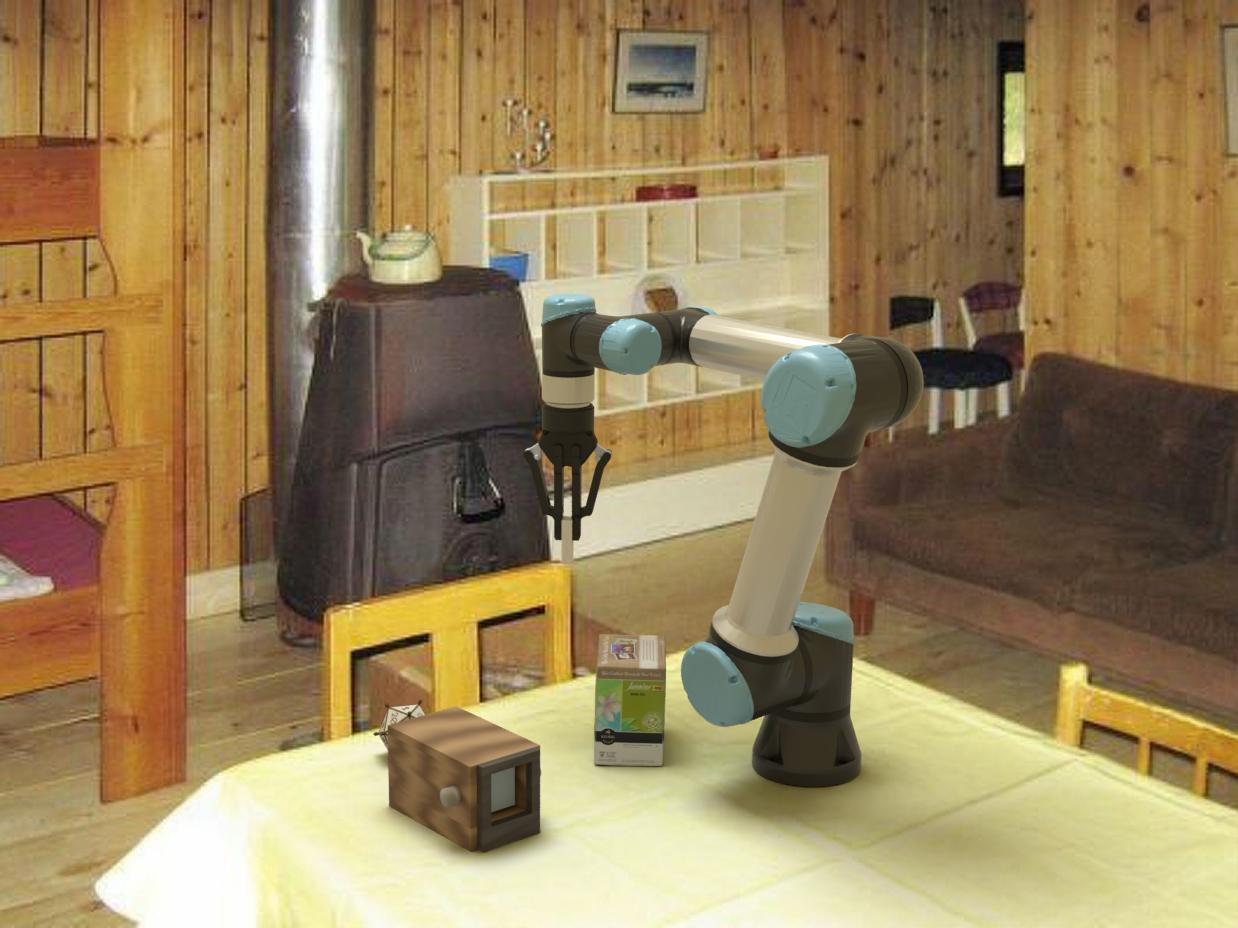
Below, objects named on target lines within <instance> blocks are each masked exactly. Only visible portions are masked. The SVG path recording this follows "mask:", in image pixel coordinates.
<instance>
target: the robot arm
mask: <svg viewBox="0 0 1238 928" xmlns="http://www.w3.org/2000/svg"><path fill="white" fill-rule="evenodd" d="M541 314H542V315H541V316H542V318H541V323H540V327H541V360H542V361H541V366H542V367H541V368H542V370H541V399H542V400H543V402H545V403H543V405H542V406H541V434H540V437H539V438H538V442H537V443H535V444H534V445H532V446H531V447H530V446H528V447H526V449H524V452H523V458H524V459H525V461H526V462H527V463H528V465H529V466H530V470H531V474H532V478H533V483H534V486H535V490H536V495H537V499H538V503H539V507H540V510H541V511H540V512H541V514H542V515H543V516H548V517H551V518H552V519H553V538H554V540H555V541H561V564H562V565H572V564H573V561H574V542H575V541H576V542H577V541H578V542H579V541H580V539H581V536H582V519H583V518H585V517H590V516H592V514H593V512H594V509H595V505H596V500H597V497H598V494H599V489H600V485H601V483H602V482H601V481H602V478H603V474H604V470H605V467H607V465H608V464H609V462H610V460H611V459H612V455H613V450H611V449H609V448H607V449H606V448H604V447H603V446H601V445H600V444H599V443H598V441H599V440H598V438H597V436H596V435H595V406H594V405H593V403H592V402H594V400H595V389H596V388H595V385H596V384H595V374H596V371H595V370H596V369H600V370H604V371H609V372H613V373H616V374H617V373H618V374H619V375H623V376H626V375H632V376H642V375H645V374H648V372H649V371H651V369H653V368H655V367H658V366H664V365H670V364H671V365H672V364H686V365H691V366H695V367H700V368H706V369H710V370H714V371H715V370H716V371H720V372H724V373H729V374H733V375H739V376H742V377H747V378H751V379H754V380H755V379H756V380H760V381H763V384H762V387H761V394H760V409H762V410H764V415H762V418H763V420H764V424H765V426H766V428H767V429H768V431H767V432H768V433H767V439H768V441H769V443H770V445H771V446H772V448H773V450H774V455H773V458H772V462H771V465H770V469H769V472H768V474H767V477H766V478H767V479H766V481H765V485H764V488H763V491H762V494H761V498H760V501H759V504H758V508H757V511H756V515H755V517H754V522H753V524H752V527H751V531H750V534H749V538H748V540H747V544H746V548H745V551H744V554H743V558H742V560H741V565H740V566H739V567H740V568H739V570H738V574H737V578H736V581H735V584H734V587H733V591H732V594H731V596H730V597H731V598H730V601H729V604H727V605H724V606H722V607H719V608H718V609H717V610H716V611H715V613H714V615H713V616H712V621H711V623H710V626H709V629H708V633H707V636H706V638H705V640H704V641H697V642H695V643H693V645H692V646H690V647H688V648H687V650H686V651H685V652H684V654H683V657H682V659H681V665H680V678H681V682H682V683H681V684H682V686H683V690H684V692H685V693H686V696H687V699H688V701H689V703H690V705H691V706H692V708H693V709H694V710H695V712H696V713H697V714H698V715H699V716H701V717H702V718H703V719H704V720H705V721H707V723H709V724H711V725H714V726H716V727H721V728H729V727H733V726H738V725H745V724H748V723H749V722H751V721H754V720H757V719H759V718H760V719H761V718H762V717H763V719H762V721H761V724H760V727H759V730H758V731H757V734H756V738H755V740H754V742H753V745H752V753H751V765H752V768H753V769H754V770H755V772H757V774H759V775H761V776H763V777H764V778H766V779H769V780H771V781H774V782H777V783H780V784H786V785H791V786H798V787H828V786H835V785H840V784H843V783H846V782H849V781H851V780H853V779H854V778H856V777H857V776H858V775H859V774H860V772H861V768H862V752H861V749H860V744H859V741H858V737H857V735H856V731H855V728H854V724H853V721H852V717H851V707H852V705H851V701H852V688H853V687H852V686H853V685H852V683H853V668H854V667H853V664H854V647H855V646H854V645H855V643H856V641H855V639H854V621H853V619H852V618H851V616H850V615H849V614H848V613H847V612H845V611H843V610H841V609H838V608H835V607H832V606H829V605H825V604H820V603H813V602H806V601H801V598H802V594H803V593H804V589H805V587H806V586H805V585H806V582H807V580H808V577H809V573H810V570H811V567H812V564H813V562H814V559H815V554H816V552H817V548H818V545H819V542H820V539H821V536H822V533H823V530H824V527H825V523H826V521H827V518H828V514H829V512H830V508H831V505H832V503H833V499H834V495H835V493H836V490H837V486H838V484H839V480H840V477H841V474H842V472H843V471H846V470H849V469H851V468H853V467H855V466H856V465H857V463H858V461H859V458H860V455H861V453H862V451H863V450H862V449H863V446H864V443H865V441H866V438H867V435H868V434H869V433H873V432H878V431H879V432H880V431H882V430H886V429H890V428H893V427H895V426H897V425H899V424H901V423H902V422H904V421H905V420H907V419H908V418H909V417H910V415H911V414H913V412H914V411H915V410H916V409H917V406H918V405H919V404H920V401H921V398H922V395H923V392H924V386H925V385H924V383H925V381H924V373H923V368H922V366H921V363H920V361H919V359H918V358H917V356H916V355H915V353H914V352H913V351H912V350H911V349H910V347H908V346H907V345H905V344H904V343H902V342H900V341H899V340H896V339H894V338H890V337H884V336H875V335H868V334H861V333H850V334H847V335H845V336H843V337H842V338H841V337H834V336H830V335H823V334H818V333H815V332H814V333H813V332H808V331H803V330H797V329H790V328H786V327H780V326H776V325H769V324H765V323H759V322H753V321H748V320H744V319H737V318H734V317H727V316H720V315H719V314H718V313H717V312H715V311H714V309H712V308H709V307H706V306H705V307H703V306H701V307H696V306H686V307H684V308H680V309H674V310H673V309H672V310H664V311H655V312H648V313H646V312H645V313H639V314H638V313H637V314H630V315H622V316H621V315H619V316H618V315H617V316H615V315H607V314H600V313H597V308H596V300H595V298H594V297H592V296H591V295H588V294H582V293H560V294H559V293H558V294H551V295H549V296H547V297H546V298H545V299H544V300H543V302H542V313H541ZM541 451H542V452H543V454H544V455H545V456H546V458H547V459H548V460H549V462H550V464H551V465H553V505H552V504H551V499H550V496H549V490H548V487H547V483H546V479H545V478H546V477H545V474H544V470H543V467H542V462H541V458H542V452H541ZM593 453H595V454H594V460H595V462H597V463H596V465H595V469H594V472H593V476H592V479H591V484H590V487H589V490H588V491H589V492H588V495H587V499H586V503H585V505H583V506H582V486H583V485H582V484H583V483H582V477H583V475H582V470H583V469H582V468H583V465H585V463H586V462H587V460H588V459H589V458H590V456H591V455H592V454H593ZM565 467H570V468H571V515H564V513H565V510H564V509H565V508H564V507H565V503H564V502H565V497H564V496H565V493H564V491H565ZM561 564H560V565H561Z"/></svg>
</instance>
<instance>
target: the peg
mask: <svg viewBox="0 0 1238 928" xmlns="http://www.w3.org/2000/svg"><path fill="white" fill-rule="evenodd" d="M512 805H515V767H513V768H510V769H506V770H503V771H500V772H497V773H494V774H491V812H494V811H497V810H500V809H503V808H506V807H509V806H512Z"/></svg>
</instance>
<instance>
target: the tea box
mask: <svg viewBox="0 0 1238 928" xmlns="http://www.w3.org/2000/svg"><path fill="white" fill-rule="evenodd" d="M666 652H667V651H666V636H665V635H651V634H648V635H647V634H646V635H645V634H642V635H641V634H613V633H611V634H609V633H608V634H606V633H602V634H601V633H600V634H599V636H598V645H597V654H596V668H595V669H596V670H595V688H594V689H595V690H594V724H593V725H594V726H593V727H594V728H593V729H594V731H593V733H594V737H593V738H594V739H593V740H594V741H593V745H594V747H593V748H594V749H593V757H594V758H593V761H594V764H595V765H599V766H600V765H603V766H621V767H622V766H625V767H626V766H627V767H628V766H631V767H661V766H663V764H664V763H663V762H664V740H665V723H666V722H665V719H666V718H665V716H666V691H667V689H666V688H667V659H666V658H667V655H666V654H667V653H666Z"/></svg>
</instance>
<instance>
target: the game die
mask: <svg viewBox="0 0 1238 928" xmlns="http://www.w3.org/2000/svg"><path fill="white" fill-rule="evenodd" d="M422 703H423V699H422V698H420V699H419V700H418V702H417V703H413V704H405V705H396V706H390V705H389V703H387V702H384V707H385V708H386V711H385V714H384V717H383V720H382V723H381V724H380V727H379V730H378V731H375V732H373V734H372V735H373V736H375V737H376V736H379V738H380V739H381V741H382V743H383V744H384V747H385V748H386V749H387V751H388V725H391V724H394V723H398V722H401V721H405V720H408V719H412V718H416V717H419V716H423V715H426V713H425V711H424V709H423V708H422V706H421V704H422Z"/></svg>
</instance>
